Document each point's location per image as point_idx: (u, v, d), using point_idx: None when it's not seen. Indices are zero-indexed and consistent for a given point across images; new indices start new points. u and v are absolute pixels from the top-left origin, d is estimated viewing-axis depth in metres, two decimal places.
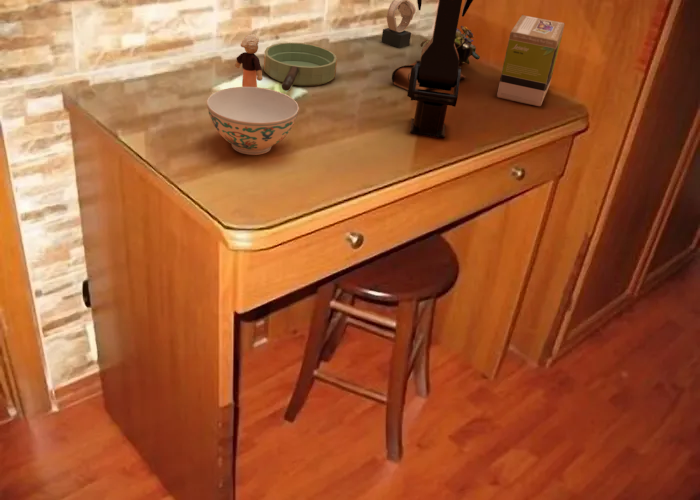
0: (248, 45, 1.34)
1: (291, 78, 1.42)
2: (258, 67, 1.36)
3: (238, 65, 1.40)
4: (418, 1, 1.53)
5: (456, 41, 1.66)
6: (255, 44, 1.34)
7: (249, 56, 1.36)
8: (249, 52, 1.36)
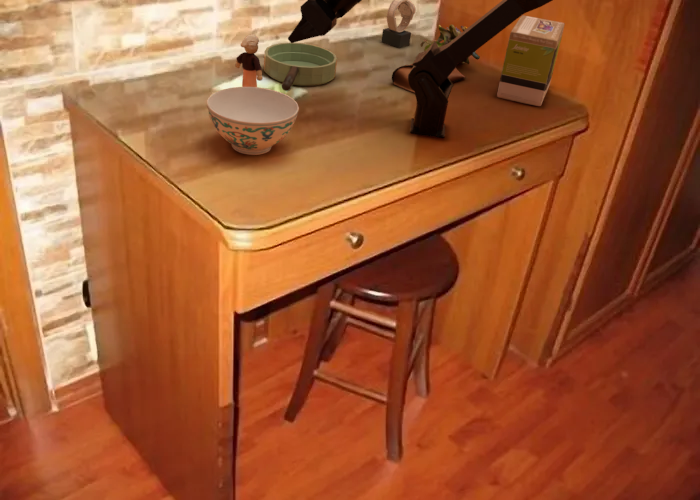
0: (248, 45, 1.34)
1: (291, 78, 1.42)
2: (258, 67, 1.36)
3: (238, 65, 1.40)
4: None
5: None
6: (255, 44, 1.34)
7: (249, 56, 1.36)
8: (249, 52, 1.36)
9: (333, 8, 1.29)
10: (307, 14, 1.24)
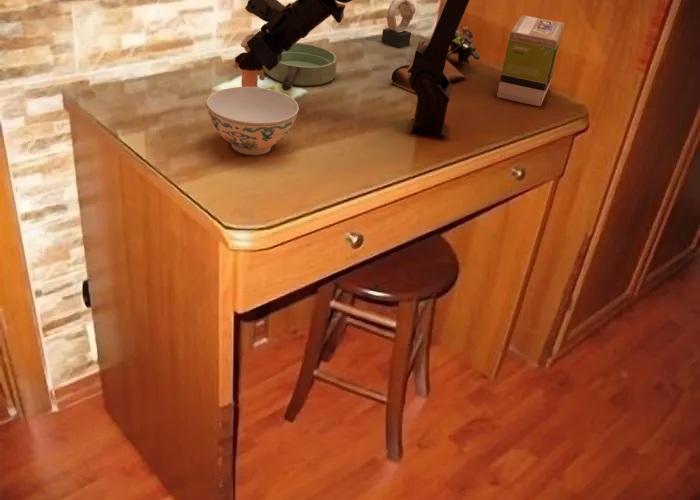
0: None
1: (291, 78, 1.42)
2: (260, 66, 1.36)
3: (236, 65, 1.39)
4: (251, 67, 1.36)
5: (456, 41, 1.66)
6: None
7: None
8: None
9: (278, 42, 1.32)
10: (253, 50, 1.26)
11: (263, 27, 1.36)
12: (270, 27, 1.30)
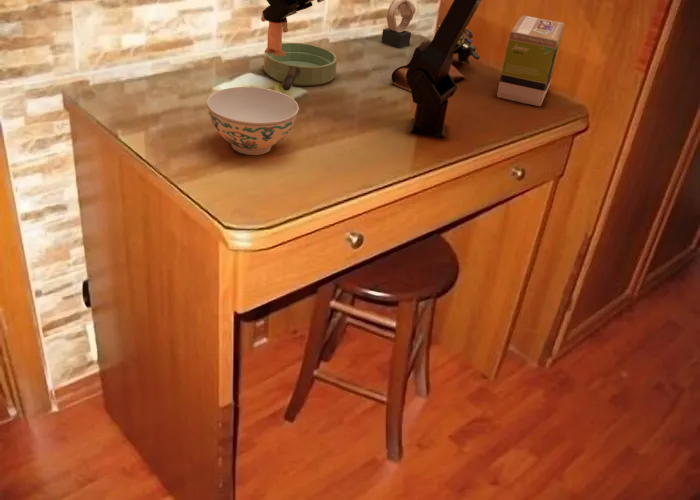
0: None
1: (291, 78, 1.42)
2: (284, 18, 1.40)
3: (264, 19, 1.44)
4: None
5: None
6: None
7: None
8: None
9: None
10: None
11: None
12: None
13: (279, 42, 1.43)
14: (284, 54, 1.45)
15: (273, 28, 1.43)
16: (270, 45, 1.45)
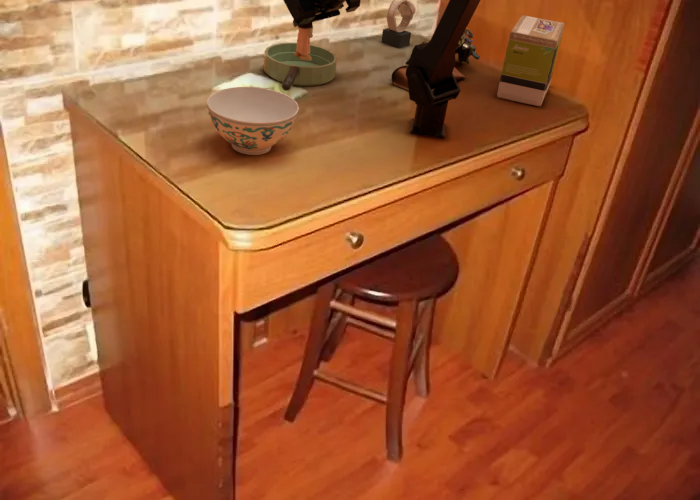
0: None
1: (291, 78, 1.42)
2: (309, 25, 1.48)
3: None
4: (301, 24, 1.49)
5: None
6: None
7: None
8: None
9: (319, 2, 1.43)
10: (286, 3, 1.39)
11: None
12: None
13: (305, 47, 1.51)
14: (310, 59, 1.53)
15: (301, 33, 1.51)
16: (298, 49, 1.53)
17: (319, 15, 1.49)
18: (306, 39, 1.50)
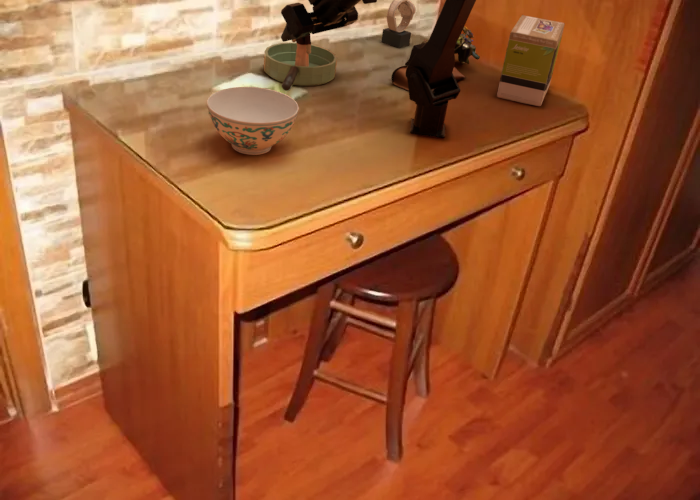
0: None
1: (291, 78, 1.42)
2: (308, 41, 1.50)
3: (294, 40, 1.55)
4: None
5: None
6: None
7: None
8: None
9: (318, 17, 1.44)
10: (284, 17, 1.41)
11: None
12: (312, 1, 1.43)
13: (304, 62, 1.53)
14: None
15: (299, 49, 1.53)
16: (296, 65, 1.55)
17: (327, 26, 1.53)
18: (305, 55, 1.52)
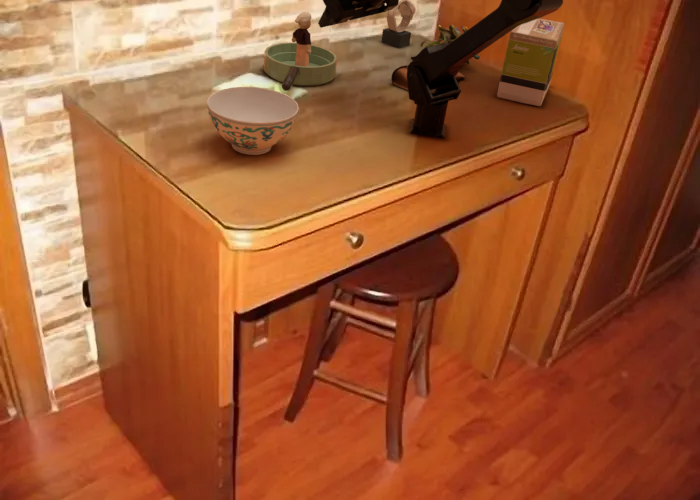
0: (300, 20, 1.49)
1: (291, 78, 1.42)
2: (308, 41, 1.50)
3: (294, 40, 1.55)
4: None
5: None
6: (307, 20, 1.49)
7: (302, 31, 1.50)
8: (302, 27, 1.50)
9: (358, 1, 1.37)
10: (324, 1, 1.34)
11: None
12: None
13: (304, 62, 1.53)
14: None
15: (299, 49, 1.53)
16: (296, 65, 1.55)
17: (365, 11, 1.46)
18: (305, 55, 1.52)
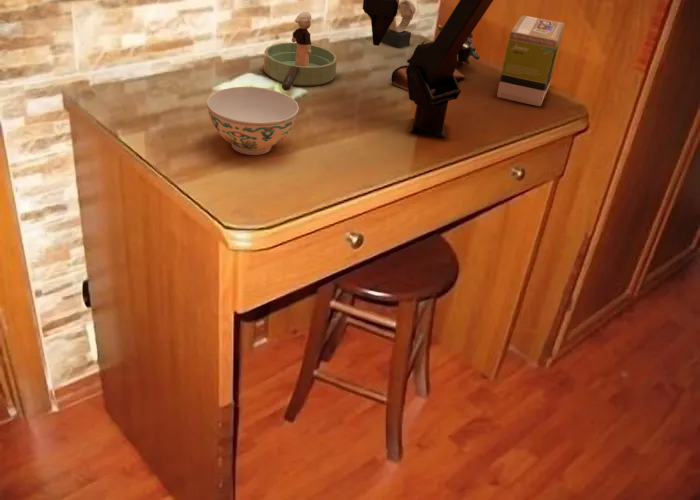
0: (300, 20, 1.49)
1: (291, 78, 1.42)
2: (308, 41, 1.50)
3: (294, 40, 1.55)
4: (383, 36, 1.35)
5: None
6: (307, 20, 1.49)
7: (302, 31, 1.50)
8: (302, 27, 1.50)
9: None
10: (372, 9, 1.29)
11: None
12: None
13: (304, 62, 1.53)
14: None
15: (299, 49, 1.53)
16: (296, 65, 1.55)
17: None
18: (305, 55, 1.52)
